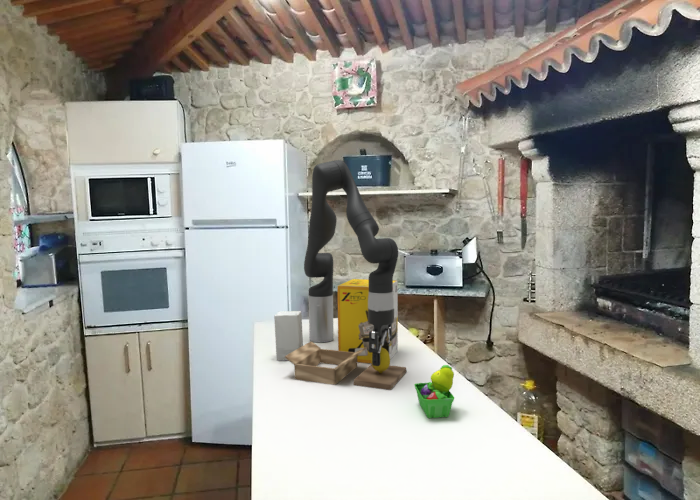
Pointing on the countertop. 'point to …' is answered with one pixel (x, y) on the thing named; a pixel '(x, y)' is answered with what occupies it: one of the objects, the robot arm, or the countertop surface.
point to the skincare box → (288, 333)
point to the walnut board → (380, 377)
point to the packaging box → (360, 319)
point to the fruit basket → (437, 393)
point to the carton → (314, 355)
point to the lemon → (383, 361)
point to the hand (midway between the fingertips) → (381, 361)
